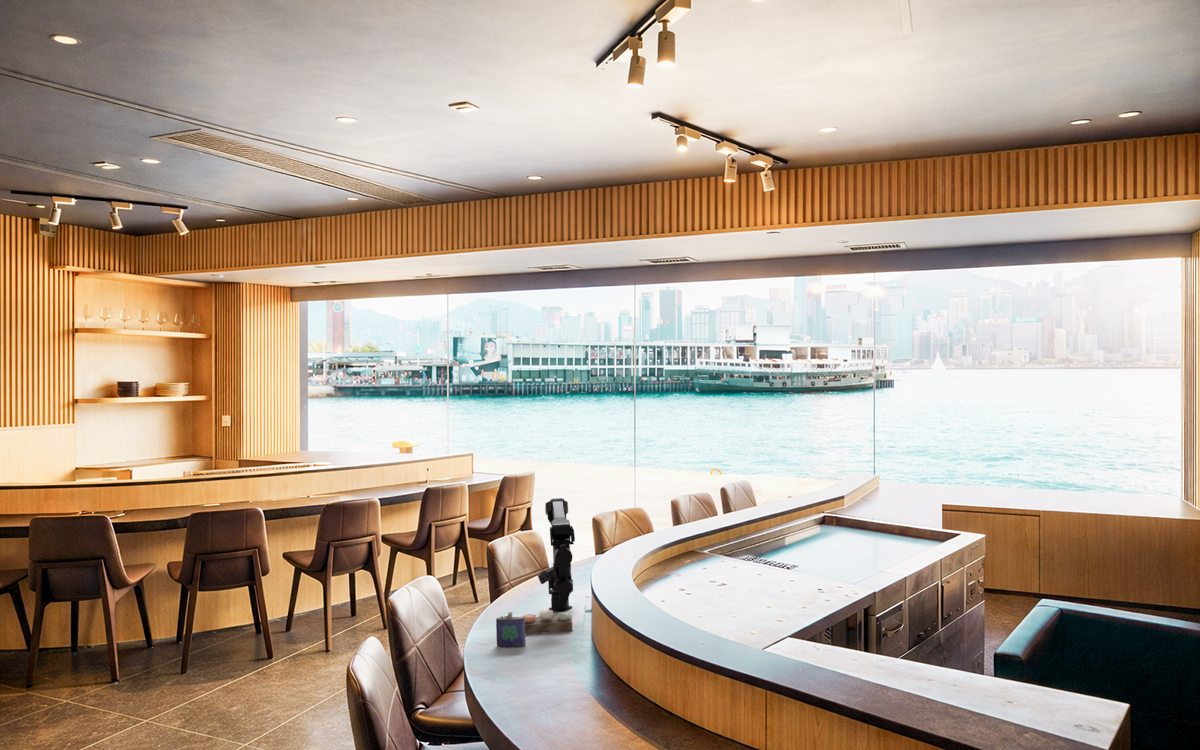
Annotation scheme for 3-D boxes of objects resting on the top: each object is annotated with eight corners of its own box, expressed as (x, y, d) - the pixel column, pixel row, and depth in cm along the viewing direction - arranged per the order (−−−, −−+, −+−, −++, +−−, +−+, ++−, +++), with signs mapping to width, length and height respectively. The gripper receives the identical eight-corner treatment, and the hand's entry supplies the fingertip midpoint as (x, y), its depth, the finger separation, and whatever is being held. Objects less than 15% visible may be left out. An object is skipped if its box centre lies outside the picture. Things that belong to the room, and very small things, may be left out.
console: (521, 634, 240) (521, 625, 240) (522, 627, 248) (522, 618, 248) (572, 631, 241) (572, 622, 241) (571, 623, 249) (571, 615, 249)
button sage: (558, 620, 242) (557, 616, 243) (557, 617, 247) (557, 612, 247) (571, 620, 243) (570, 615, 243) (570, 616, 247) (570, 611, 247)
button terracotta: (522, 623, 241) (522, 618, 242) (522, 619, 246) (522, 614, 246) (535, 622, 242) (535, 617, 242) (535, 618, 246) (535, 613, 246)
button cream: (540, 618, 242) (539, 614, 242) (540, 615, 246) (540, 610, 246) (553, 618, 242) (552, 613, 242) (553, 614, 247) (552, 609, 247)
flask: (526, 644, 229) (524, 610, 230) (524, 647, 226) (523, 613, 227) (497, 645, 230) (496, 611, 230) (495, 648, 227) (494, 614, 227)
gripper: (538, 555, 254) (540, 600, 254) (538, 567, 236) (540, 615, 235) (570, 554, 255) (571, 598, 254) (572, 565, 237) (574, 613, 236)
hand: (563, 606), depth 245 cm, fingers closed
